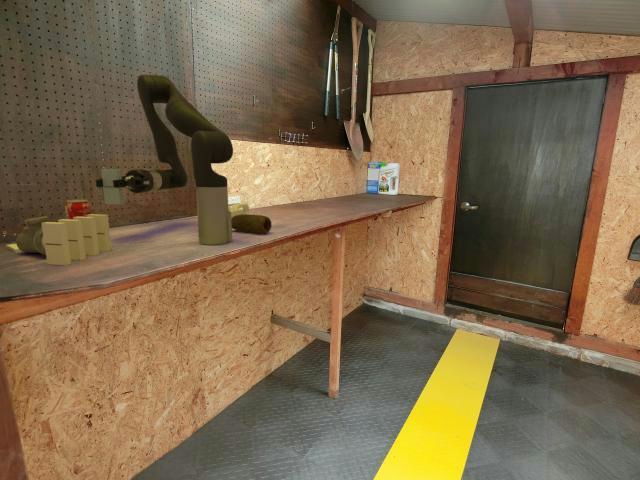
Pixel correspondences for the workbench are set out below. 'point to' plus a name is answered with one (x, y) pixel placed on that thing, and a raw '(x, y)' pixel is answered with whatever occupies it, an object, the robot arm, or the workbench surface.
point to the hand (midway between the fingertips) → (105, 183)
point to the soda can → (77, 208)
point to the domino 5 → (110, 192)
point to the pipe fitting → (32, 236)
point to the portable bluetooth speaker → (251, 223)
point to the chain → (237, 211)
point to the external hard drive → (13, 248)
